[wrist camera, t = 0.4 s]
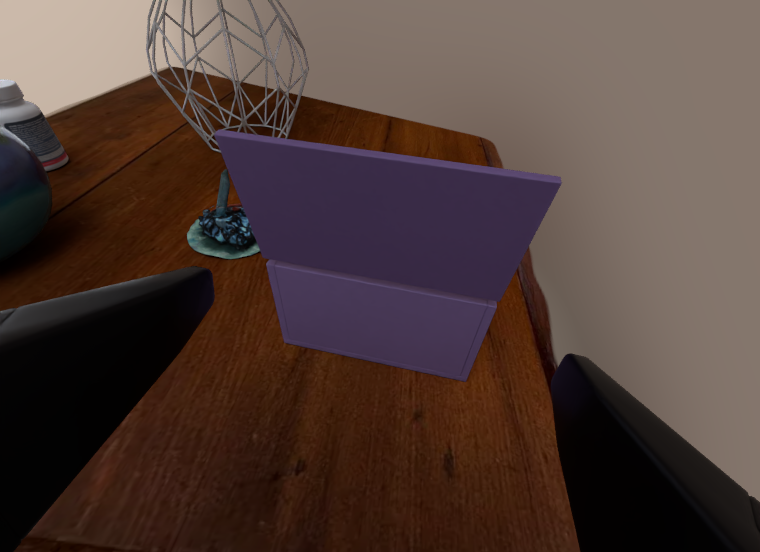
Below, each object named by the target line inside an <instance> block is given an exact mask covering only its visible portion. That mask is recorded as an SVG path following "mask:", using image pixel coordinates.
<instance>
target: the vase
mask: <svg viewBox="0 0 760 552" xmlns="http://www.w3.org/2000/svg"><path fill="white" fill-rule="evenodd" d="M51 208H52V188H51V184H50V180H49V177H48V175H47V173H46V171H45V169H44V167H43V165H42V163H41V161H40V160H39V158H38V157H37V156H36V154H35V153H34V151H33V150H32V149H31V148H30V147H29V146H28V145H27V144H26V143H25V142H24V141H22V140H21V139H20V138H19V137H17V136H16V135H15V134H13V133H12V132H11V131H9V130H7V129H6V128H4V127H3V126H1V125H0V262H2V261H4V260H6V259H7V258H9V257H11V256H13V255H14V254H16V253H18V252H19V251H21V250H22V249H23V248H24V247H26V246H27V245H28V244H30V243H31V242H32V241H33V240H34V239H35V238H36V237H37V236H38V235H39V234H40V232H41V231H42V230H43V228H44V227H45V225H46V223H47V221H48V219H49V216H50V213H51Z"/></svg>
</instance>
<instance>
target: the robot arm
mask: <svg viewBox="0 0 760 552" xmlns="http://www.w3.org/2000/svg"><path fill="white" fill-rule="evenodd" d="M213 302H214V286H213V277H212V273H211V271H210V270H209V269H206V268H202V267H197V266H191V267H187V268H183V269H178V270H174V271H170V272H166V273H161V274H157V275H153V276H149V277H144V278H140V279H136V280H132V281H127V282H123V283H119V284H115V285H110V286H106V287H102V288H98V289H93V290H89V291H85V292H81V293H76V294H72V295H68V296H64V297H59V298H55V299H51V300H47V301H42V302H38V303H34V304H30V305H25V306H21V307H19V308H18V309H16V308H12V309H8V310H4V311H0V552H13V551H14V550H15V549H16V548H17V547H18V545H19V544H20V543H21V539H24V538H25V537H26V535H27V534H28V533H29V532H30V531H31V530H32V528H33V527H34V526H35V525H36V524H37V522H38V521H39V520H40V519H41V518H42V516H43V515H44V514H45V513H46V512H47V510H48V509H49V508H50V507H51V506H52V504H53V503H54V502H55V501H56V500H57V499H58V497H59V496H60V495H61V494H62V493H63V491H64V490H65V489H66V488H67V487H68V485H69V484H70V483H71V482H72V481H73V479H74V478H75V477H76V476H77V475H78V473H79V472H80V471H81V470H82V469H83V468H84V466H85V465H86V464H87V463H88V462H89V460H90V459H91V458H92V457H93V456H94V454H95V453H96V452H97V451H98V450H99V448H100V447H101V446H102V445H103V444H104V442H105V441H106V440H107V439H108V438H109V437H110V435H111V434H112V433H113V432H114V431H115V429H116V428H117V427H118V426H119V425H120V423H121V422H122V421H123V420H124V419H125V417H126V416H127V415H128V414H129V413H130V411H131V410H132V409H133V408H134V407H135V406H136V404H137V403H138V402H139V401H140V400H141V398H142V397H143V396H144V395H145V394H146V392H147V391H148V390H149V389H150V388H151V386H152V385H153V384H154V383H155V382H156V380H157V379H158V378H159V377H160V376H161V375H162V373H163V372H164V371H165V370H166V369H167V367H168V366H169V365H170V364H171V363H172V361H173V360H174V359H175V358H176V356H177V355H178V354H179V353H180V351H181V350H182V349H183V347H184V346H185V345H186V343H187V342H188V340H189V339H190V337H191V336H192V334H193V333H194V331H195V330H196V328H197V327H198V325H199V324H200V322H201V321H202V319H203V318H204V316H205V315H206V313H207V312H208V311H209V309H210V308H211V306H212V304H213ZM551 394H552V403H553V413H554V422H555V431H556V440H557V447H558V452H559V457H560V462H561V466H562V471H563V475H564V480H565V484H566V489H567V493H568V498H569V502H570V507H571V511H572V516H573V520H574V525H575V529H576V534H577V538H578V543H579V547H580V552H760V502H759V501H758V500H756V499H755V498H754V497H752V496H749V495H748V492H746V490H744V489H743V488H742V487H741V486H740V485H738V484H737V483H736V482H735V481H734V480H732V479H731V478H730V477H729V476H728V475H726V474H725V473H724V472H723V471H722V470H721V469H719V468H718V467H717V466H716V465H715V464H713V463H712V462H711V461H710V460H709V459H707V458H706V457H705V456H704V455H703V454H701V453H700V452H699V451H698V450H697V449H695V448H694V447H693V446H692V445H691V444H689V443H688V442H687V441H686V440H685V439H683V438H682V437H681V436H680V435H679V434H677V433H676V432H675V431H674V430H673V429H671V428H670V427H669V426H668V425H667V424H666V423H664V422H663V421H662V420H661V419H660V418H658V417H657V416H656V415H655V414H654V413H652V412H651V411H650V410H649V409H648V408H646V407H645V406H644V405H643V404H642V403H641V402H639V401H638V400H637V399H636V398H635V397H633V396H632V395H631V394H630V393H629V392H628V391H626V390H625V389H624V388H623V387H622V386H620V385H619V384H618V383H617V382H616V381H614V380H613V379H612V378H611V377H610V376H608V375H607V374H606V373H605V372H603V371H602V370H601V369H600V368H599V367H598V366H597V365H595V364H594V363H593V362H592V361H591V360H589V359H588V358H586V357H584V356H579V355H575V354H567V355H566V356H565V357H564V358H563V360H562V361H561V363H560V365H559V367H558V368H557V370H556V372H555V374H554V375H553V378H552V380H551Z"/></svg>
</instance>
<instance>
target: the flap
mask: <svg viewBox="0 0 760 552" xmlns="http://www.w3.org/2000/svg"><path fill="white" fill-rule="evenodd" d="M214 136H215V138H216V141H217V143H218V146H219V148H220V151H221V153H222V156H223V158H224V161H225V163H226V166H227V168H228V171H229V173H230V176H231V178H232V181H233V183H234V186H235V188H236V191H237V193H238V196H239V198H240V201H241V203H242V206H243V209H244V211H245V214H246V216H247V219H248V221H249V224H250V226H251V229H252V231H253V234H254V236H255V239H256V241H257V244H258V246H259V249H260V251H261V254H262V256H263V258H267V259H272V260H278V261H283V262H288V263H294V264H299V265H305V266H310V267H316V268H321V269H326V270H332V271H337V272H343V273H348V274H353V275H359V276H364V277H370V278H375V279H380V280H386V281H391V282H397V283H402V284H407V285H413V286H418V287H424V288H429V289H434V290H440V291H445V292H451V293H456V294H461V295H467V296H472V297H478V298H483V299H488V300H494V301H500V300H501V298H502V296H503V294H504V292H505V290H506V288H507V287H508V285H509V283H510V281H511V279H512V277H513V275H514V273H515V271H516V269H517V267H518V266H519V264H520V262H521V260H522V258H523V256H524V254H525V252H526V250H527V248H528V246H529V245H530V243H531V241H532V239H533V237H534V235H535V233H536V231H537V229H538V227H539V225H540V224H541V221H542V220H543V218H544V216H545V214H546V212H547V210H548V208H549V206H550V205H551V203H552V201H553V199H554V197H555V195H556V193H557V191H558V189H559V187H560V185H561V178H560V177H558V176H551V175H544V174H537V173H529V172H522V171H514V170H508V169H500V168H493V167H486V166H479V165H471V164H464V163H457V162H450V161H443V160H435V159H428V158H421V157H414V156H406V155H399V154H392V153H385V152H378V151H370V150H363V149H356V148H349V147H341V146H334V145H327V144H320V143H312V142H305V141H298V140H291V139H284V138H276V137H269V136H262V135H255V134H247V133H240V132H233V131H226V130H218V131H217V132H216V133H215V134H214Z"/></svg>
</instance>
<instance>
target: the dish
mask: <svg viewBox="0 0 760 552" xmlns="http://www.w3.org/2000/svg"><path fill="white" fill-rule="evenodd" d="M229 187H230V183H229V177H228V171H227V169H226V170H224V172H222V174H221V180H220V187H219V194H218V200H217V206H216V209H213V210H212V211H210V210H203V216H199V217H198V218H199V219H198V220H196V221H195V223H194V224H193V225H192V226H191V228H190V230H189V232H188V233H187V240H188V243H189V244H190V246H191V247H192V248H193V249H194V250H196V251H198V252H200V253H203V254H206V255H212V256H216V257H221V258H226V259H236V258H240V257H244V256H249V255H252V254H255V253H257V252H259V251H260V249H259V246H258V244H257V241H256V239H255V236H254V234H253V231H252V229H251V226H250V224H249V221H248V219H247V216H246V214H245V211H244V209H243V206H242V203H240V204H233V205H227V200H228V194H229ZM212 207H213V206H212ZM210 208H211V207H210Z"/></svg>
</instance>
